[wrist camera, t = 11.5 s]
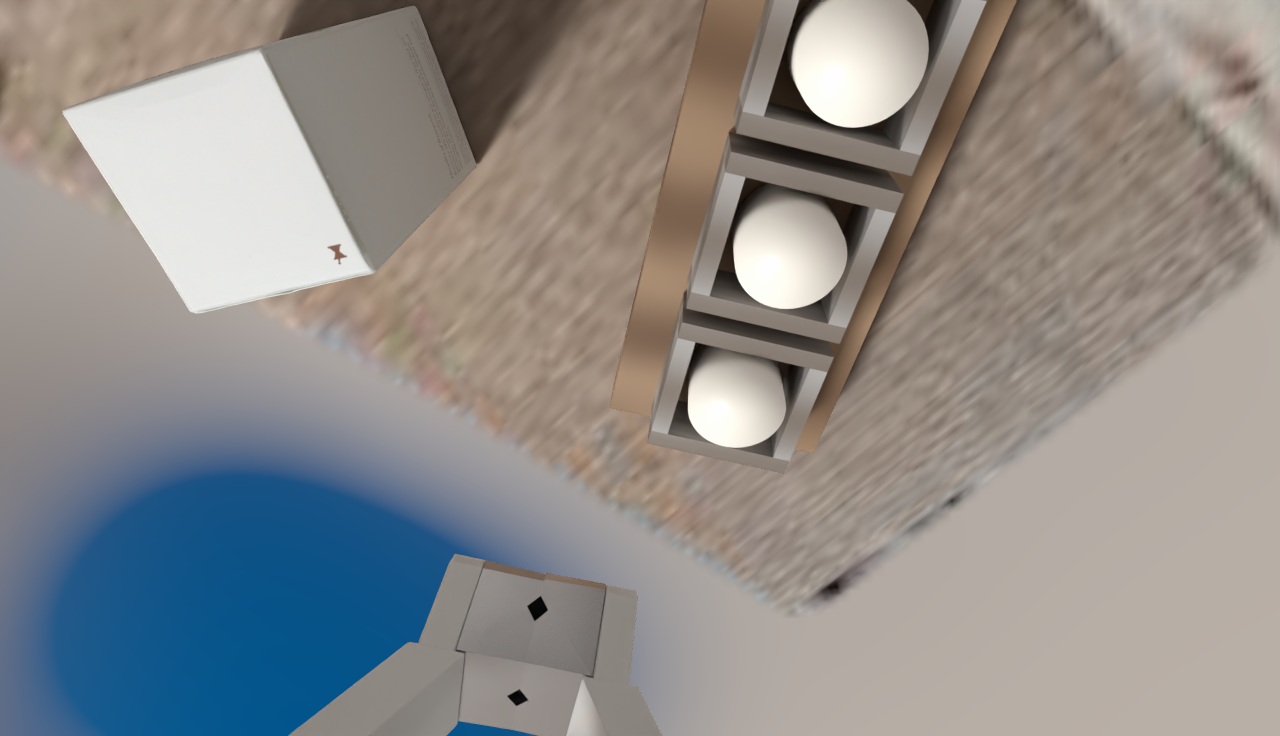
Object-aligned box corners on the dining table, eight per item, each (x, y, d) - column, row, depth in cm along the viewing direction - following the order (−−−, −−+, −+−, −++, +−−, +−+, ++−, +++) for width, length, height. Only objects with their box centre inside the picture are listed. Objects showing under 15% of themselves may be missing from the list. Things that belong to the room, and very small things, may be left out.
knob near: (809, -32, 26) (822, -27, 23) (925, -2, 26) (951, 7, 23) (771, 93, 28) (779, 111, 26) (878, 119, 29) (897, 140, 26)
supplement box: (419, -1, 31) (266, 41, 20) (480, 169, 34) (380, 281, 24) (268, 44, 32) (49, 105, 21) (343, 202, 36) (189, 322, 25)
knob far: (702, 323, 34) (701, 358, 31) (791, 343, 34) (799, 380, 31) (679, 397, 36) (677, 436, 34) (763, 416, 36) (768, 456, 34)
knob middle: (748, 169, 30) (753, 193, 27) (849, 193, 30) (864, 220, 27) (720, 264, 32) (721, 295, 30) (814, 286, 32) (824, 319, 30)
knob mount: (732, -110, 28) (738, -117, 23) (1002, -39, 28) (1068, -30, 23) (615, 377, 40) (602, 443, 35) (806, 419, 40) (821, 491, 35)
